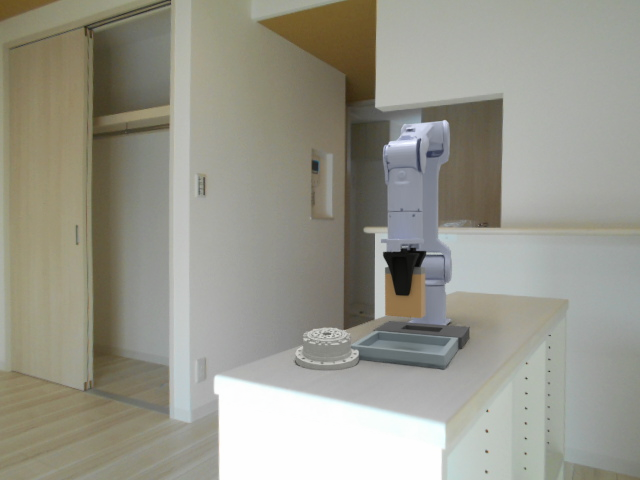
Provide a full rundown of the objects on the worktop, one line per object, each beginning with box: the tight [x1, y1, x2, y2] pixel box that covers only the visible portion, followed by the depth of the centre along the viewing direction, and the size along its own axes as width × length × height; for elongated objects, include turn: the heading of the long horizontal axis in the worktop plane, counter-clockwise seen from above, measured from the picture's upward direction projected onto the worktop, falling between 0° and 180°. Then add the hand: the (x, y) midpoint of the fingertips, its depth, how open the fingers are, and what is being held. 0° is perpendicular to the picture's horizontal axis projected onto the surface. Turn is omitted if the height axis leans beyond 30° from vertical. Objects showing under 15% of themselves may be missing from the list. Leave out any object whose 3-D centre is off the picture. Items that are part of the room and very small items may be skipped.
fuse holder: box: [372, 320, 471, 350], centre depth 87 cm, size 10×16×2 cm, turn 65°
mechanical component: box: [294, 327, 360, 371], centre depth 72 cm, size 10×4×10 cm
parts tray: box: [351, 331, 459, 370], centre depth 76 cm, size 13×15×2 cm
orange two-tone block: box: [384, 266, 425, 318], centre depth 76 cm, size 3×6×8 cm, turn 65°
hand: (405, 294), depth 76 cm, fingers closed on orange two-tone block, 3 cm apart
